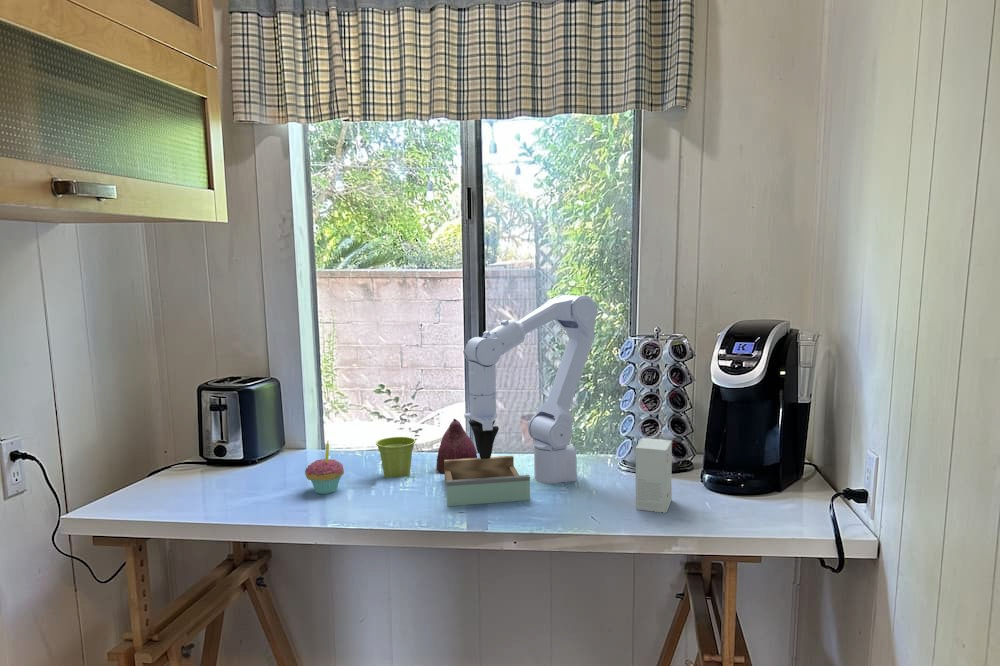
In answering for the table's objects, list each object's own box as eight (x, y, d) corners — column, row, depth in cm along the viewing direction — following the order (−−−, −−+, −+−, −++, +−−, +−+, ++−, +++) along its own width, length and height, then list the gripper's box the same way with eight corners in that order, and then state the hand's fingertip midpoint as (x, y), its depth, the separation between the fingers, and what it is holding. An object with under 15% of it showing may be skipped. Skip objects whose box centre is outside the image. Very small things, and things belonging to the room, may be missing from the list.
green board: (529, 498, 130) (528, 474, 130) (530, 500, 129) (529, 476, 128) (446, 504, 127) (446, 480, 127) (447, 506, 126) (446, 482, 126)
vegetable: (471, 488, 151) (474, 434, 145) (430, 480, 153) (432, 426, 147) (482, 465, 160) (485, 413, 155) (443, 458, 162) (445, 407, 157)
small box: (641, 496, 134) (642, 437, 133) (672, 500, 131) (672, 440, 130) (634, 509, 127) (634, 447, 125) (666, 513, 124) (667, 450, 123)
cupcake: (352, 489, 141) (350, 438, 140) (318, 500, 135) (316, 446, 134) (331, 481, 147) (329, 432, 146) (298, 491, 141) (296, 439, 140)
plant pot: (370, 475, 151) (369, 441, 150) (404, 467, 157) (403, 434, 156) (388, 485, 144) (387, 448, 143) (423, 476, 150) (422, 441, 149)
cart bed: (513, 480, 146) (512, 455, 145) (526, 505, 130) (526, 477, 129) (444, 485, 143) (444, 459, 143) (450, 510, 128) (449, 482, 127)
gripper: (460, 388, 139) (462, 447, 140) (467, 400, 125) (469, 466, 126) (492, 386, 140) (493, 445, 141) (502, 399, 126) (503, 464, 127)
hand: (483, 455), depth 134 cm, fingers open, 4 cm apart
